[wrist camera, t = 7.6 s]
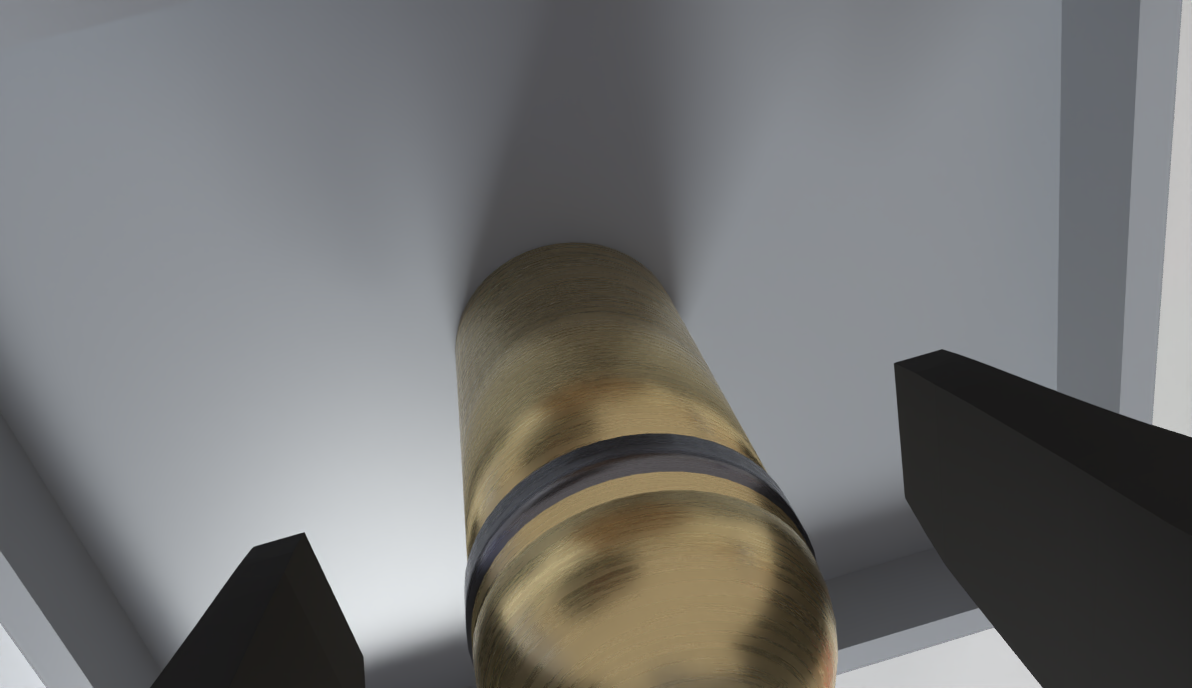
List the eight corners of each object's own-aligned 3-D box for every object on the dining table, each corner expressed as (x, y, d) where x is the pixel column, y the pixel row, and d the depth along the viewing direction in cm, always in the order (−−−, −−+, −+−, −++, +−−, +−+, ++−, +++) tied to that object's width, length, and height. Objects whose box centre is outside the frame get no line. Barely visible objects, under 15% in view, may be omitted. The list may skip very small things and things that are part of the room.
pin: (488, 470, 16) (538, 976, 9) (422, 275, 14) (416, 707, 7) (698, 412, 16) (919, 861, 9) (658, 212, 14) (895, 569, 7)
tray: (207, 755, 19) (179, 873, 16) (-239, 46, 12) (-385, 83, 10) (1058, 502, 20) (1140, 583, 17) (1070, -286, 13) (1204, -320, 11)
